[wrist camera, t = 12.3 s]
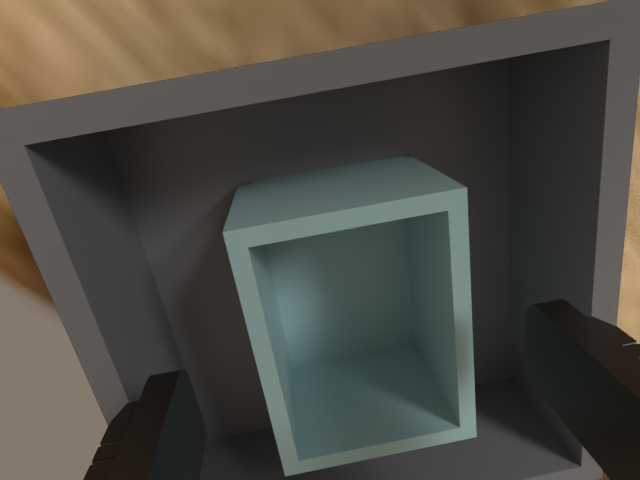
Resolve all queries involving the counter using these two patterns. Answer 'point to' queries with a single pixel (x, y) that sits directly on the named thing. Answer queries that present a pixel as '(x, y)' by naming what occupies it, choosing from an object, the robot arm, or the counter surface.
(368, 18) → the counter surface
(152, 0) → the counter surface
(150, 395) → the robot arm
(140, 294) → the charcoal crate
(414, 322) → the teal crate
